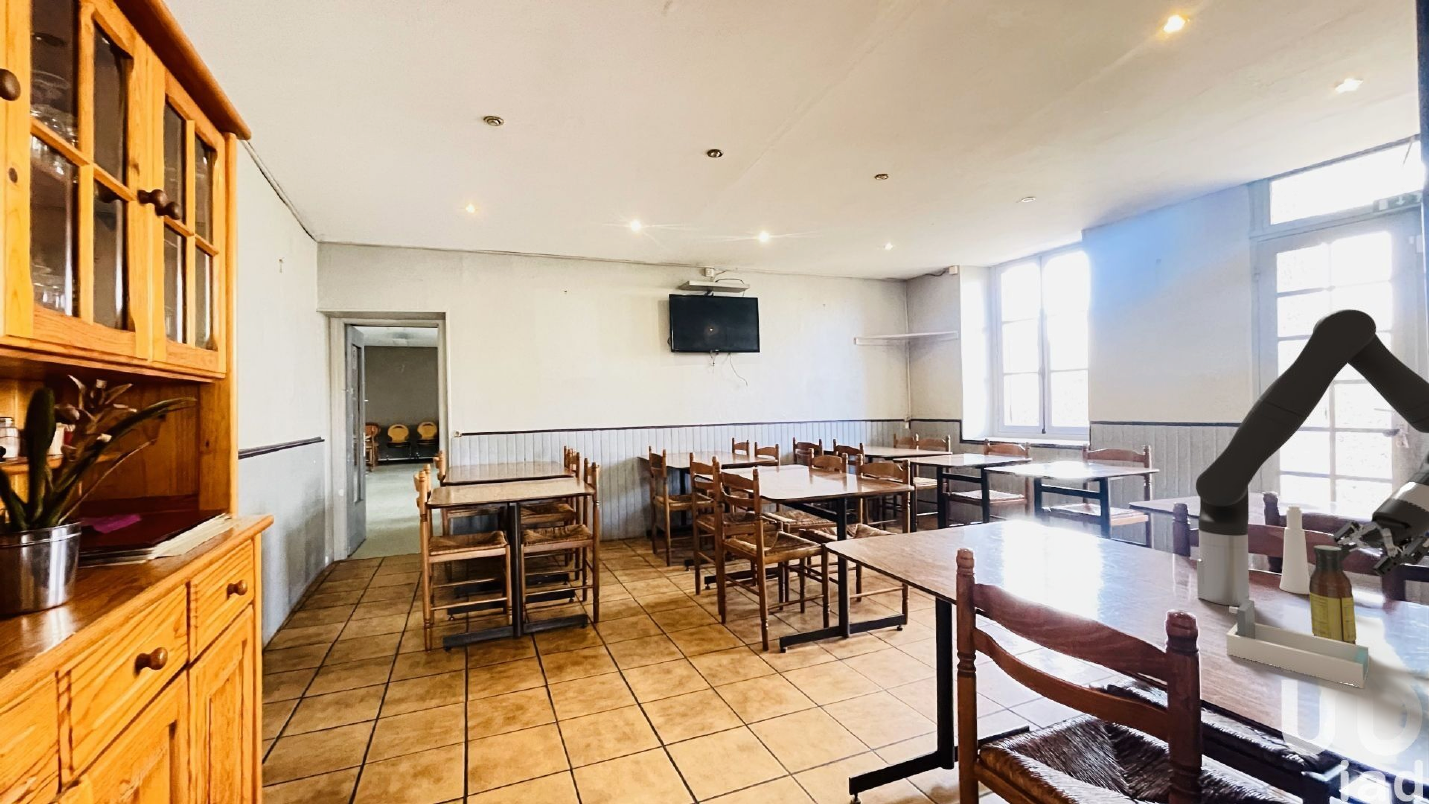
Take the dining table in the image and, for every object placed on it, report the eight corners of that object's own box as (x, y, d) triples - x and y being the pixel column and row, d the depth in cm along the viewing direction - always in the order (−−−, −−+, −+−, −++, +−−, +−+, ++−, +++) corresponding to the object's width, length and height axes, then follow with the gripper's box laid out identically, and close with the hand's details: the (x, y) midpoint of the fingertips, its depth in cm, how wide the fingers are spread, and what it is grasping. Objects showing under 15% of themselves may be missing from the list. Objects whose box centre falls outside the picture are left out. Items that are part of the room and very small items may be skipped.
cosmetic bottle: (1286, 592, 147) (1284, 507, 147) (1274, 585, 153) (1272, 503, 153) (1317, 595, 145) (1315, 508, 145) (1305, 588, 150) (1303, 504, 150)
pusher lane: (1226, 654, 114) (1226, 634, 114) (1240, 638, 121) (1239, 619, 121) (1362, 688, 100) (1362, 666, 100) (1368, 668, 107) (1368, 647, 107)
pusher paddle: (1225, 645, 116) (1224, 606, 116) (1235, 633, 121) (1234, 597, 121) (1245, 650, 113) (1244, 611, 113) (1255, 638, 118) (1254, 600, 118)
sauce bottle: (1346, 640, 119) (1343, 545, 119) (1364, 652, 113) (1361, 552, 113) (1303, 635, 122) (1301, 542, 122) (1319, 647, 116) (1317, 549, 116)
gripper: (1359, 492, 124) (1306, 545, 125) (1440, 503, 110) (1379, 564, 110) (1385, 515, 124) (1332, 569, 124) (1470, 531, 110) (1409, 591, 110)
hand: (1354, 567), depth 117 cm, fingers open, 8 cm apart
